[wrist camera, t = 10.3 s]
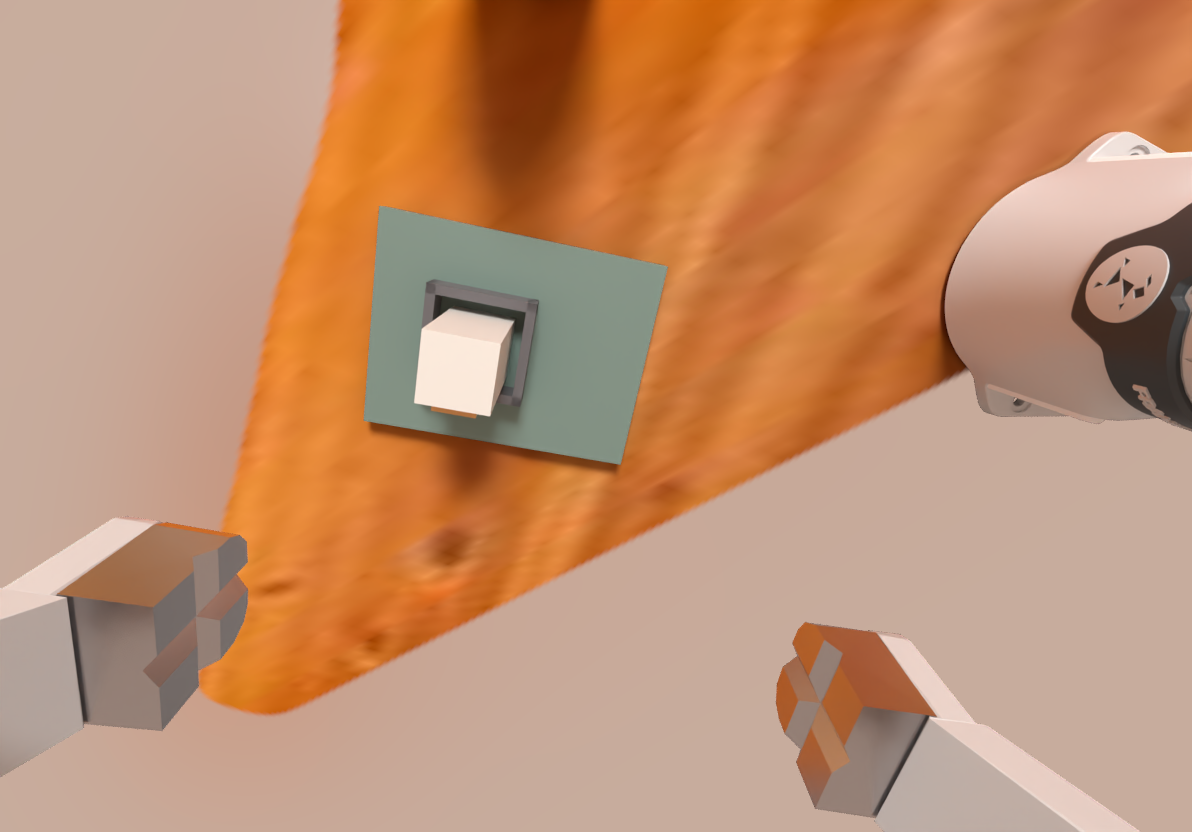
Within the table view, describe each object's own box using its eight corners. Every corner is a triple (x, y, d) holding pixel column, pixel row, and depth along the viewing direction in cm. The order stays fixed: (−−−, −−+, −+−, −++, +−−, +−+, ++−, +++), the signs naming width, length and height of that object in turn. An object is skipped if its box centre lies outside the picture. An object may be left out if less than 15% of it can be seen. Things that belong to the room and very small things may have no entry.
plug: (515, 318, 36) (500, 343, 28) (505, 383, 37) (488, 424, 30) (453, 305, 35) (421, 328, 28) (445, 372, 37) (413, 411, 29)
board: (664, 265, 36) (673, 269, 33) (619, 458, 41) (622, 476, 38) (385, 206, 34) (367, 204, 31) (369, 414, 39) (352, 431, 36)
